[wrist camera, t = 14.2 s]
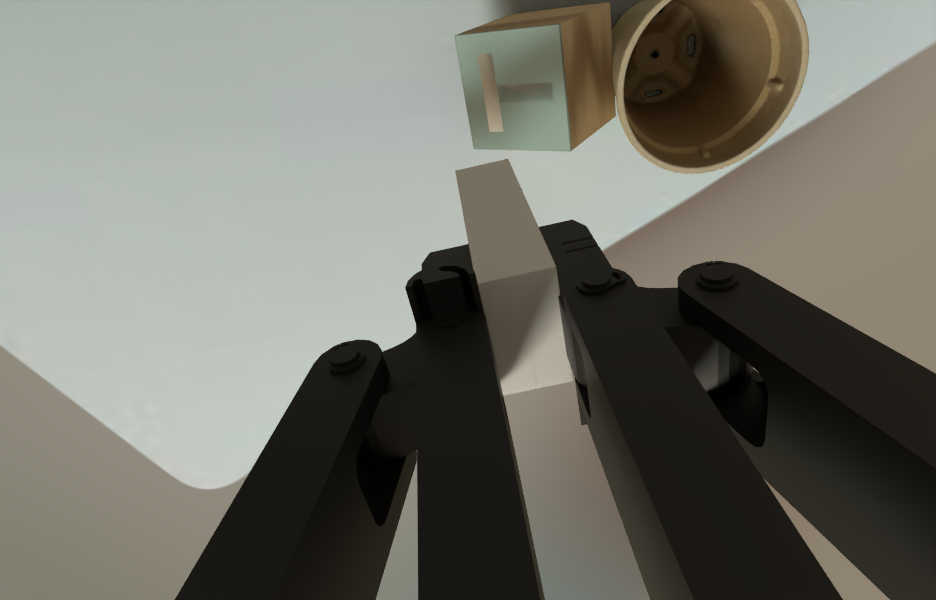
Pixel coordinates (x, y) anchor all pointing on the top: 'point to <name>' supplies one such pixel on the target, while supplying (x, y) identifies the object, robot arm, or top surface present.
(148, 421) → the top surface
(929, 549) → the robot arm
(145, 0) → the top surface
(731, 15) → the flower pot
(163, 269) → the top surface
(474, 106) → the tan cube
